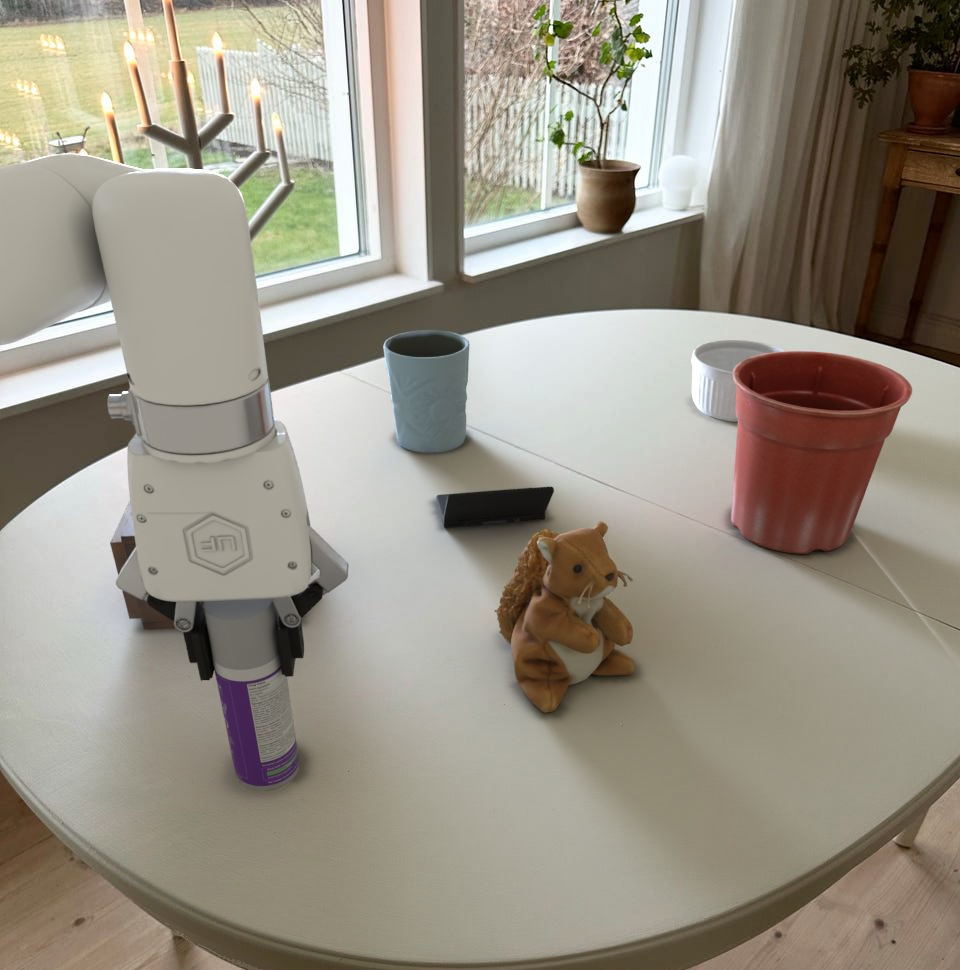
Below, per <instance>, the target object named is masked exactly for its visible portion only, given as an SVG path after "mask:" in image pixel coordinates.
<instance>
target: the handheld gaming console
mask: <svg viewBox="0 0 960 970" xmlns="http://www.w3.org/2000/svg"><path fill="white" fill-rule="evenodd" d="M554 488H555V487H553V486H538V487H537V486H536V487H522V488H521V487H520V488H507V489H495V490H494V489H493V490H481V491H467V492H457V493H456V492H454V493H443V494H437V495H436V504H437V507H438V511H439V515H440V518H441V521H442V524H443V528H444V529H451V528H459V527H460V528H461V527H462V528H463V527H473V526H483V525H489V524H499V523H506V524H507V523H519V522H531V521H532V522H533V521H543V520H545V519H546V511H547V509H548V507H549V504H550V502H551V499H552V497H553V495H554V493H555V489H554Z"/></svg>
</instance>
